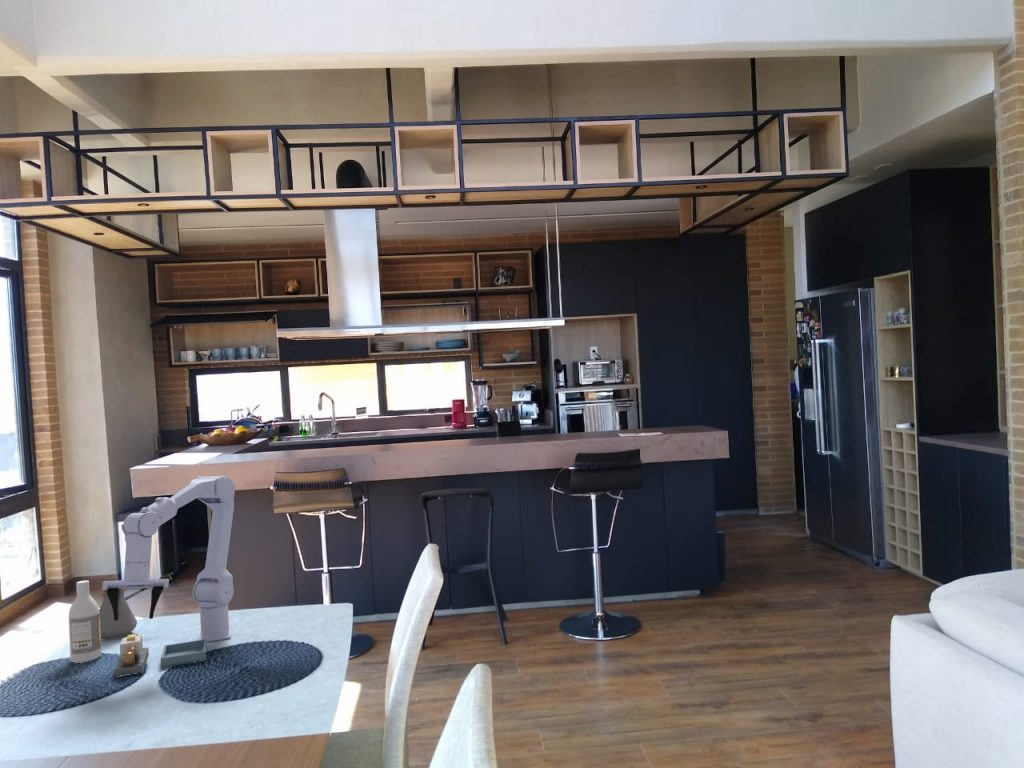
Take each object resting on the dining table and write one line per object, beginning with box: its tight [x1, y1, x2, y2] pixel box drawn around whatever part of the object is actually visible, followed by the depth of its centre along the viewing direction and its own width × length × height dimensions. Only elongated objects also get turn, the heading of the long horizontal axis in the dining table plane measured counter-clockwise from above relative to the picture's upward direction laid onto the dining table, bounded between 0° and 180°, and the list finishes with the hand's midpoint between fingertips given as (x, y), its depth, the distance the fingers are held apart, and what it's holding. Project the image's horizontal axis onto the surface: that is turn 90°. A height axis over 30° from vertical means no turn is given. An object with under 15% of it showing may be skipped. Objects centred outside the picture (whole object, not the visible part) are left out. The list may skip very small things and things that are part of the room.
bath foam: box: [68, 579, 102, 663], centre depth 197 cm, size 7×7×20 cm
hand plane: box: [113, 633, 150, 677], centre depth 190 cm, size 15×6×6 cm, turn 20°
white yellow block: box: [119, 633, 144, 658], centre depth 190 cm, size 6×4×4 cm
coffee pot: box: [99, 573, 173, 641], centre depth 220 cm, size 21×12×15 cm, turn 125°
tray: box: [160, 639, 208, 669], centre depth 194 cm, size 11×10×2 cm
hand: (133, 619), depth 187 cm, fingers open, 7 cm apart
